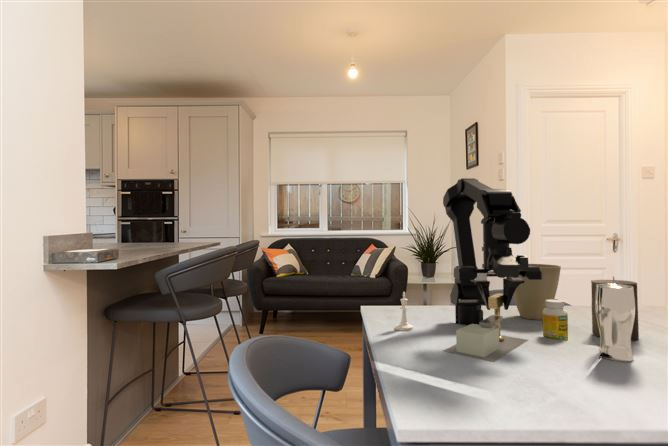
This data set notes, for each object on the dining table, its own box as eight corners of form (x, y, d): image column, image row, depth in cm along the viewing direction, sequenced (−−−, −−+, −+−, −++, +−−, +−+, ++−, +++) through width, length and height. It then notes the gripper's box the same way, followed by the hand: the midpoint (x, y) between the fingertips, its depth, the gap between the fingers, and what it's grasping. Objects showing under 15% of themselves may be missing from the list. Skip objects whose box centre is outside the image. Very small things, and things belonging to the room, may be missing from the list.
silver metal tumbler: (588, 352, 89) (587, 283, 89) (618, 351, 90) (617, 283, 90) (612, 363, 82) (611, 288, 82) (644, 361, 83) (643, 287, 83)
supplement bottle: (550, 336, 103) (549, 298, 103) (572, 341, 98) (571, 301, 99) (538, 339, 100) (537, 300, 100) (560, 344, 95) (560, 303, 96)
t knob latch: (478, 346, 90) (477, 300, 90) (495, 334, 99) (494, 293, 100) (492, 348, 88) (491, 301, 88) (508, 336, 98) (507, 294, 98)
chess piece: (414, 327, 113) (414, 291, 114) (412, 331, 109) (411, 293, 109) (397, 326, 115) (396, 290, 115) (393, 330, 110) (393, 293, 110)
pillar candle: (640, 343, 96) (639, 279, 96) (591, 337, 101) (590, 277, 101) (636, 334, 104) (635, 275, 104) (591, 329, 109) (590, 273, 110)
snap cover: (456, 351, 87) (456, 330, 87) (472, 343, 93) (472, 323, 93) (484, 357, 83) (484, 335, 83) (499, 348, 88) (498, 327, 89)
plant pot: (572, 322, 117) (571, 267, 118) (520, 322, 118) (519, 267, 118) (545, 312, 132) (545, 262, 133) (499, 312, 133) (499, 263, 133)
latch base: (442, 356, 87) (442, 350, 87) (482, 336, 103) (482, 332, 103) (493, 368, 80) (493, 361, 80) (528, 345, 95) (528, 339, 95)
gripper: (465, 244, 88) (466, 316, 88) (553, 243, 88) (555, 316, 87) (452, 242, 99) (453, 307, 99) (530, 242, 99) (531, 307, 98)
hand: (497, 309), depth 96 cm, fingers closed on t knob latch, 4 cm apart
